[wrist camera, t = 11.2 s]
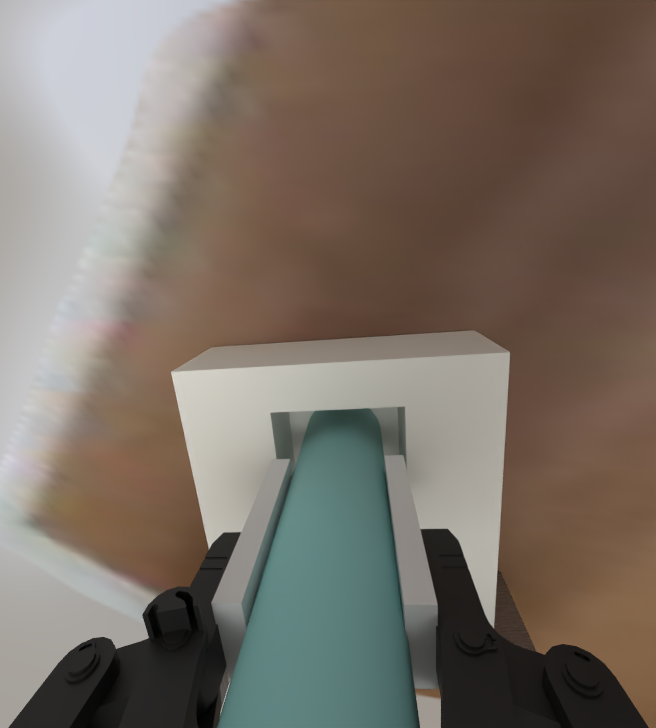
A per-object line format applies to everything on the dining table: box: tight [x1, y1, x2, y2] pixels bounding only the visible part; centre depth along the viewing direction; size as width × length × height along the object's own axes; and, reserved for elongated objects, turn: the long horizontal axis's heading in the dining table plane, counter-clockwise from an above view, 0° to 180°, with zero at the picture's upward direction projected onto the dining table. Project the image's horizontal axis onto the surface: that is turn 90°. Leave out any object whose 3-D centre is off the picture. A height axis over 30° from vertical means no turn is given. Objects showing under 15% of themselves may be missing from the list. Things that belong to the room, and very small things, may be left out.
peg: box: [217, 408, 420, 728], centre depth 13 cm, size 4×4×14 cm
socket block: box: [171, 330, 510, 628], centre depth 19 cm, size 16×14×4 cm
